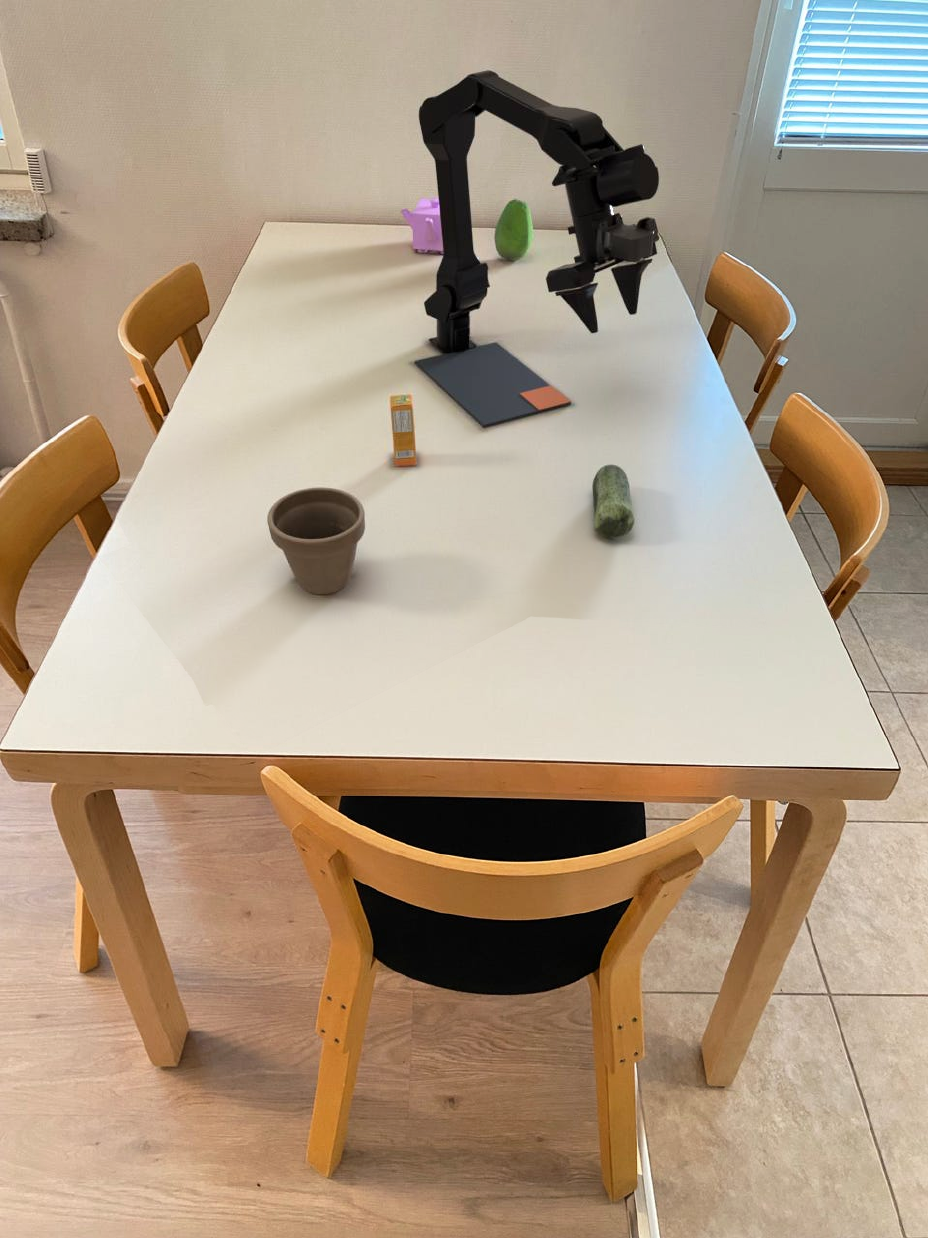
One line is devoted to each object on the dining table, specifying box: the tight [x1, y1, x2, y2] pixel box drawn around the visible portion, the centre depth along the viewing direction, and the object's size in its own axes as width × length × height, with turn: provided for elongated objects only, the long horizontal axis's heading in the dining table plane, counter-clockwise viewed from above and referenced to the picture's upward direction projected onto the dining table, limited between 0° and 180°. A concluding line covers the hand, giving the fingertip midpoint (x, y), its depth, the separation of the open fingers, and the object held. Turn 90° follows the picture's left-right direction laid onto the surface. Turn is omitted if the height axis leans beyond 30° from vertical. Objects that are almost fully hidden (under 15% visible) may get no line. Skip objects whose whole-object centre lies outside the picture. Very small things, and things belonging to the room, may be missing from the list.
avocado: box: [493, 198, 534, 262], centre depth 196 cm, size 8×8×12 cm
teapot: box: [400, 197, 443, 255], centre depth 201 cm, size 18×13×10 cm
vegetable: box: [591, 464, 635, 539], centre depth 130 cm, size 14×5×5 cm, turn 177°
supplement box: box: [389, 393, 417, 467], centre depth 138 cm, size 3×3×10 cm
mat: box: [414, 341, 572, 428], centre depth 159 cm, size 24×16×1 cm, turn 29°
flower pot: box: [266, 486, 366, 595], centre depth 117 cm, size 12×11×10 cm
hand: (614, 323), depth 142 cm, fingers open, 9 cm apart
